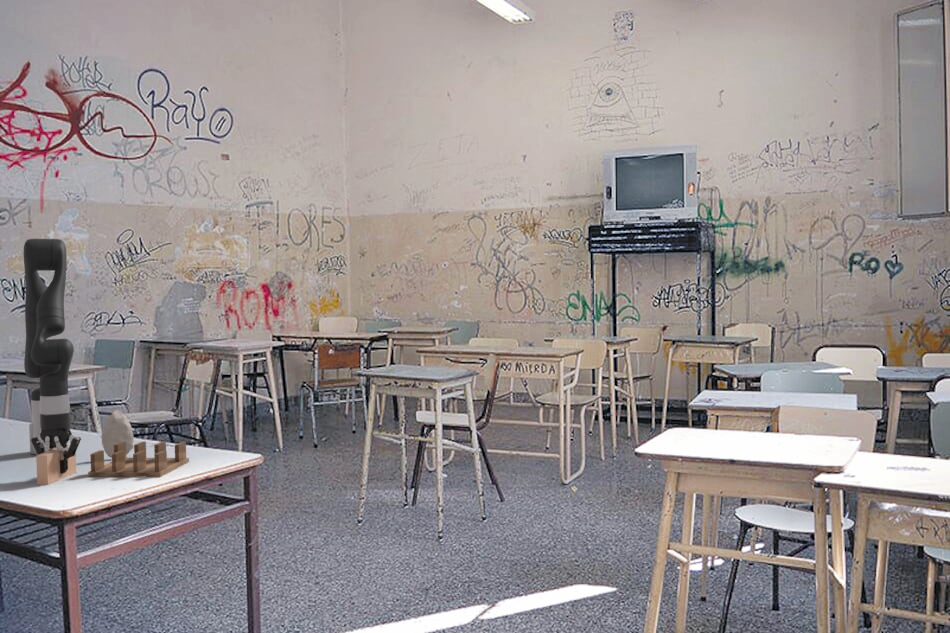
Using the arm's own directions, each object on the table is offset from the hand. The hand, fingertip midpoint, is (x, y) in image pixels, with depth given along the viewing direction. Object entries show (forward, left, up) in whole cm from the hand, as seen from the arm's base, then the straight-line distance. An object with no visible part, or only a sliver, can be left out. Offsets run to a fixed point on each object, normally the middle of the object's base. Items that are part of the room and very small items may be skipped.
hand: (57, 472), depth 240 cm
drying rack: (+18, +12, -2) cm, 22 cm away
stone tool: (+4, +26, -2) cm, 26 cm away
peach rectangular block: (0, 0, -2) cm, 2 cm away
